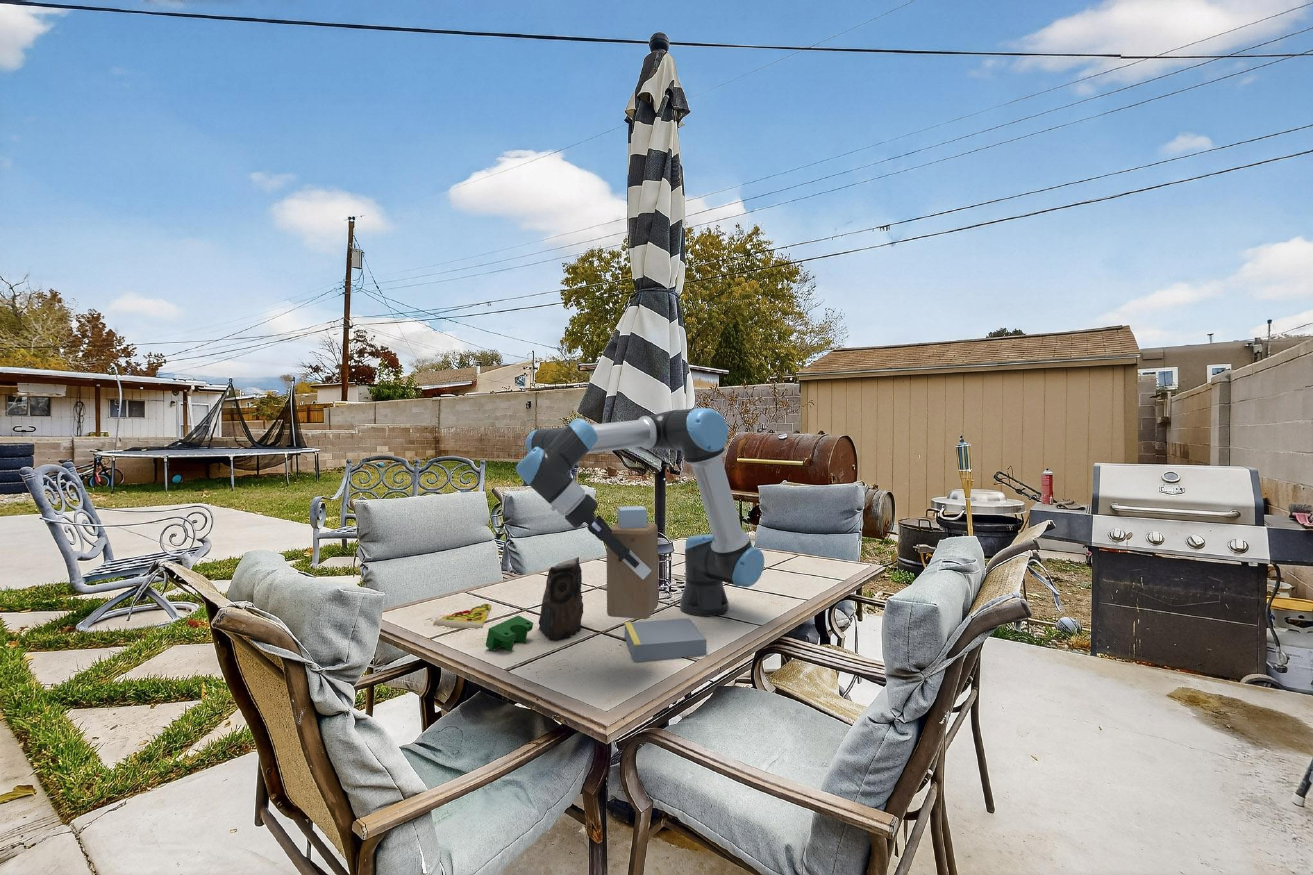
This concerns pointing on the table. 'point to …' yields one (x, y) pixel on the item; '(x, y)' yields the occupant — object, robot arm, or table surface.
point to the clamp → (508, 633)
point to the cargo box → (632, 517)
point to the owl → (562, 601)
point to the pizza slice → (466, 618)
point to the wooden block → (633, 574)
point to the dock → (664, 639)
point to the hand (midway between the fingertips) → (641, 567)
